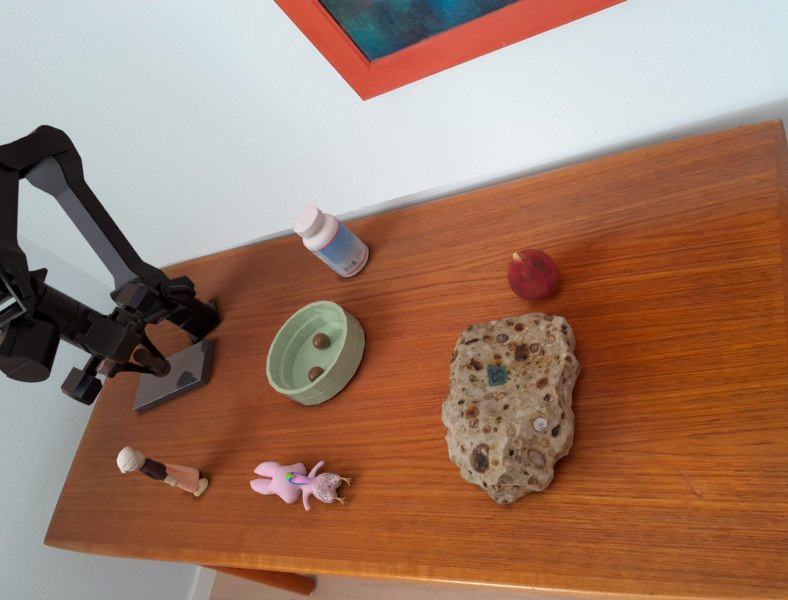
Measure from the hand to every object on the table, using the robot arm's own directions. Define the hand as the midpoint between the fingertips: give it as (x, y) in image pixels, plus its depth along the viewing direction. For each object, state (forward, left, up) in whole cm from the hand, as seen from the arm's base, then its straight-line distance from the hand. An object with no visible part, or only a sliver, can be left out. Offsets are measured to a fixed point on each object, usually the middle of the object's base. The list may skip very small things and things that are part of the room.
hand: (159, 365), depth 102 cm
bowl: (+16, +23, -7) cm, 29 cm away
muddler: (-5, -3, -4) cm, 7 cm away
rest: (-5, -4, -7) cm, 9 cm away
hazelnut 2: (+19, +22, -5) cm, 29 cm away
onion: (+32, +52, -7) cm, 62 cm away
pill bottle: (+3, +33, -7) cm, 34 cm away
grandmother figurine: (+18, -4, -7) cm, 20 cm away
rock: (+44, +42, -7) cm, 62 cm away
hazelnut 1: (+14, +24, -5) cm, 29 cm away
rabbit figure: (+32, +14, -7) cm, 36 cm away
